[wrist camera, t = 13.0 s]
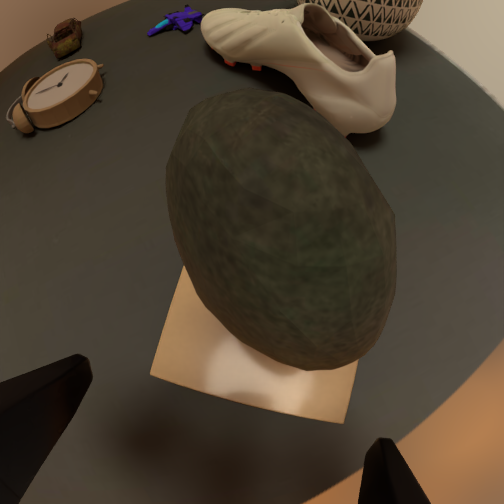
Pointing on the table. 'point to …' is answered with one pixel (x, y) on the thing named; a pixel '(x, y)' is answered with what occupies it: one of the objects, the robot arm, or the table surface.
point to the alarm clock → (57, 95)
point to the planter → (371, 15)
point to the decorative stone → (282, 229)
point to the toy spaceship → (178, 21)
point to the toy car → (66, 37)
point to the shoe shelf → (242, 366)
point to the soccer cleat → (311, 60)
